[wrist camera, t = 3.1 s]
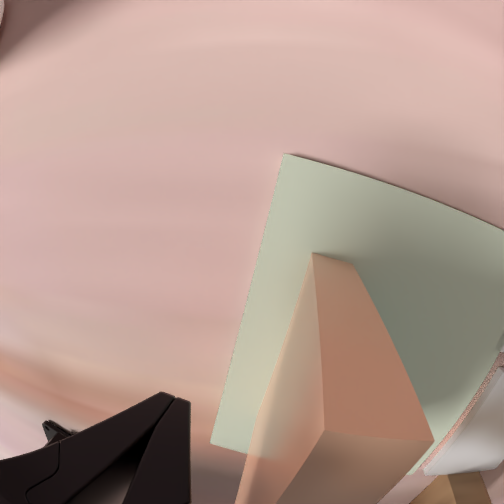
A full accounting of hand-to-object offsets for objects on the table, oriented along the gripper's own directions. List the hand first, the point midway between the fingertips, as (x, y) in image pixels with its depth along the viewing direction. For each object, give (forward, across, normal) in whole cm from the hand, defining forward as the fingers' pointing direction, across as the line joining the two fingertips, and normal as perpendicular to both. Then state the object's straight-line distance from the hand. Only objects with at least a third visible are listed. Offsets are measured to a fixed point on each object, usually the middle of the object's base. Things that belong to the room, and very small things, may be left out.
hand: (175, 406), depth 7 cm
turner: (+5, -17, +7) cm, 19 cm away
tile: (+5, -3, 0) cm, 6 cm away
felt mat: (+5, -7, 0) cm, 9 cm away
